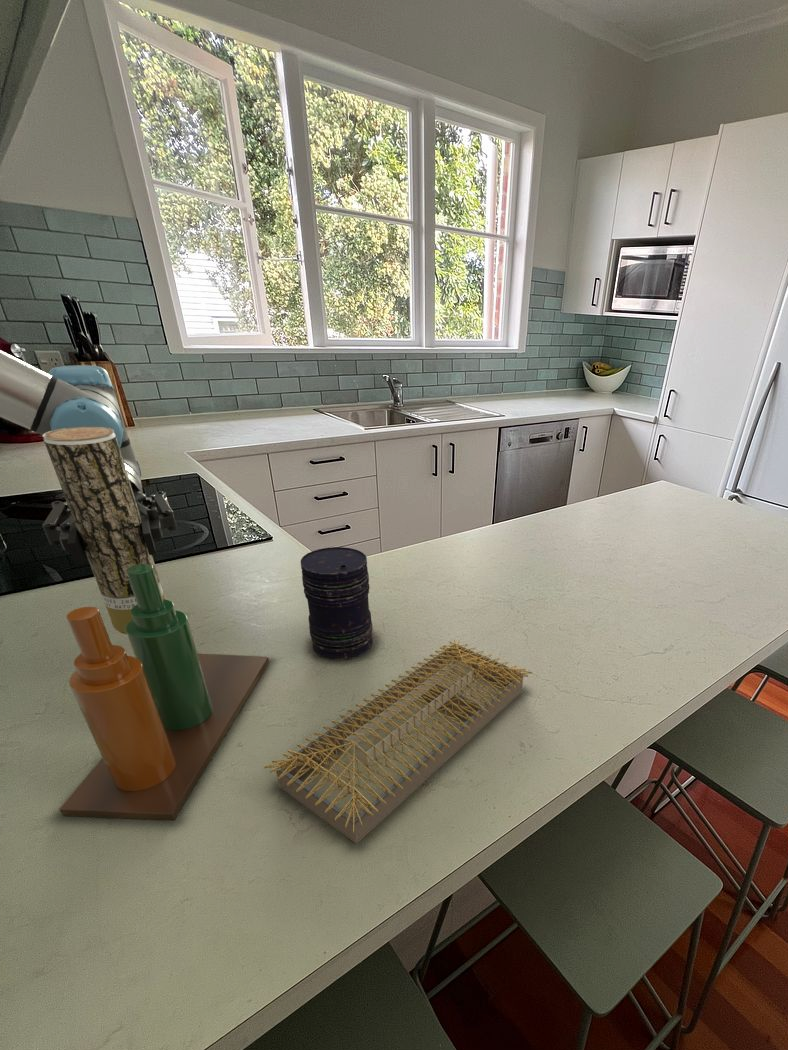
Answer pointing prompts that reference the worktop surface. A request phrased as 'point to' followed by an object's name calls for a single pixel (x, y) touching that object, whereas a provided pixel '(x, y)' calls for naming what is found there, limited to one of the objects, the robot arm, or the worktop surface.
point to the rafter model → (399, 735)
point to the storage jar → (338, 602)
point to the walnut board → (175, 749)
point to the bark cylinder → (102, 511)
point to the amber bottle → (118, 706)
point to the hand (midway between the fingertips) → (113, 549)
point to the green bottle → (166, 653)
